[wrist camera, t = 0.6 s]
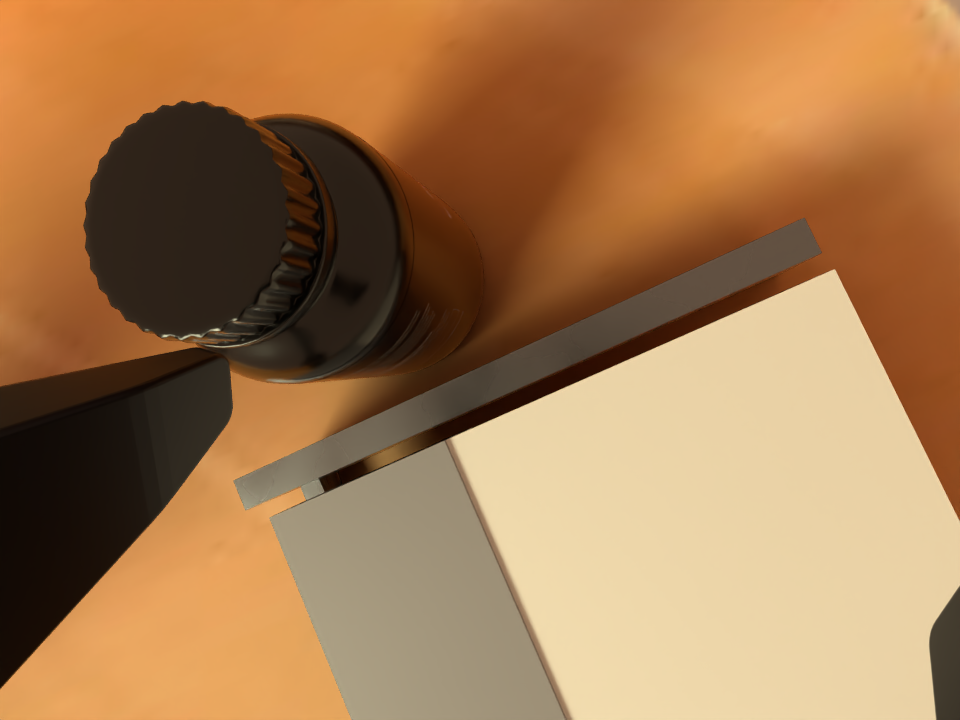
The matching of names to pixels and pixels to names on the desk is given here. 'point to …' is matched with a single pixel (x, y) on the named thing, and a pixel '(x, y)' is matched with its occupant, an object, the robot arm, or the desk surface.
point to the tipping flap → (650, 543)
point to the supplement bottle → (279, 246)
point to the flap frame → (531, 364)
